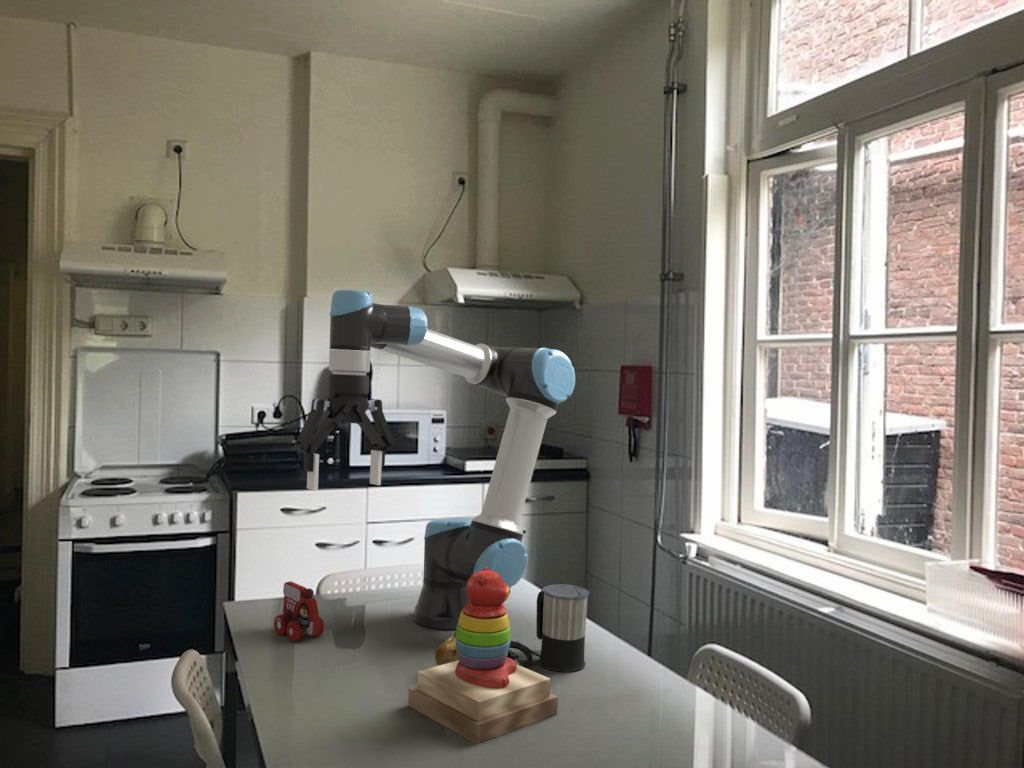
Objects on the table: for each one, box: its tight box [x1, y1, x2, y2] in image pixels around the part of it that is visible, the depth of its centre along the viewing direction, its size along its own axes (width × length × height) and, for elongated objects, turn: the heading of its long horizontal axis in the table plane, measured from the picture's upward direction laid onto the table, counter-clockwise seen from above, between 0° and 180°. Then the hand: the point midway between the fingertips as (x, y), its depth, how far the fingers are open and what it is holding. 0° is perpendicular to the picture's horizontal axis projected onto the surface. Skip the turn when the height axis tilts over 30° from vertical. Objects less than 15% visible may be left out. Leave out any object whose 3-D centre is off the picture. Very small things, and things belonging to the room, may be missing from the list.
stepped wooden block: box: [407, 660, 559, 745], centre depth 141 cm, size 18×18×6 cm
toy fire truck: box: [273, 580, 325, 643], centre depth 175 cm, size 7×12×10 cm, turn 45°
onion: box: [434, 631, 459, 666], centre depth 158 cm, size 8×8×8 cm
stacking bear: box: [455, 567, 517, 688], centre depth 141 cm, size 11×10×18 cm
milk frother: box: [507, 583, 590, 673], centre depth 164 cm, size 14×16×15 cm
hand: (344, 486), depth 155 cm, fingers open, 13 cm apart
